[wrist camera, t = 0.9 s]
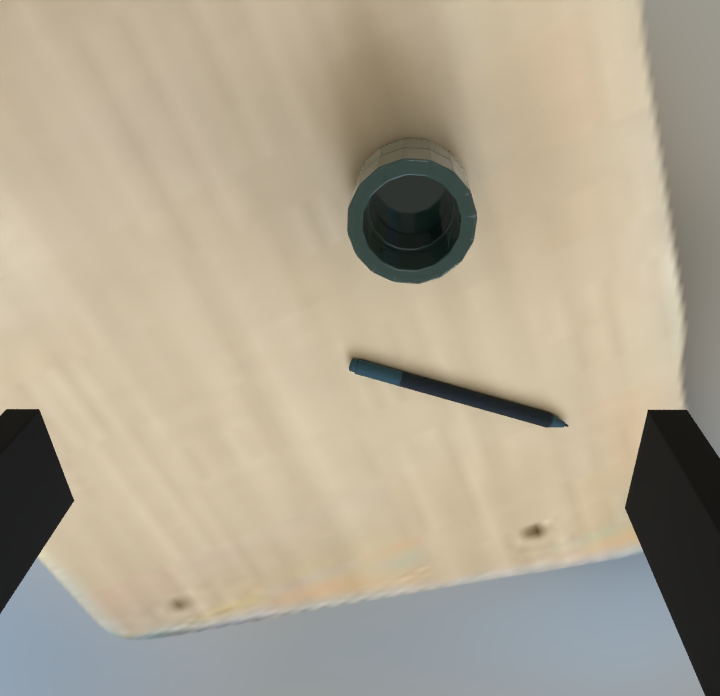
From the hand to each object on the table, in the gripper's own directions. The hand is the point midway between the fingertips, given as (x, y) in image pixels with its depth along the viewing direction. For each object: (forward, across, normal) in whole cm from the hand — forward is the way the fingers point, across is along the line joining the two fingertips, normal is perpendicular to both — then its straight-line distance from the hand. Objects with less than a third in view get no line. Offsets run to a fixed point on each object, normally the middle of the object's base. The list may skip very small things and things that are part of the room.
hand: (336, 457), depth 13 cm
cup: (+24, +2, -1) cm, 25 cm away
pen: (+25, +5, -15) cm, 29 cm away
